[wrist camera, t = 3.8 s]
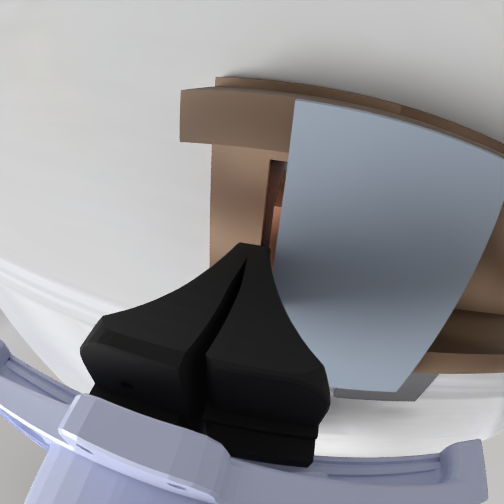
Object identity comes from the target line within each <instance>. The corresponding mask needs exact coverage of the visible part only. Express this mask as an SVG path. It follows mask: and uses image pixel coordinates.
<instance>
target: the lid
mask: <svg viewBox="0 0 504 504" xmlns="http://www.w3.org/2000/svg"><path fill="white" fill-rule="evenodd" d="M503 202H504V159H503V158H502V157H500V156H498V155H496V154H494V153H491V152H489V151H487V150H485V149H482V148H480V147H477V146H475V145H472V144H470V143H467V142H465V141H462V140H460V139H457V138H454V137H452V136H449V135H446V134H443V133H440V132H437V131H434V130H431V129H428V128H425V127H422V126H419V125H416V124H412V123H409V122H405V121H402V120H398V119H395V118H391V117H387V116H383V115H380V114H375V113H371V112H367V111H363V110H358V109H354V108H349V107H344V106H339V105H334V104H328V103H323V102H317V101H310V100H304V99H296V100H295V107H294V115H293V124H292V132H291V140H290V148H289V156H288V164H287V172H286V180H285V187H284V195H283V202H282V209H281V217H280V224H279V231H278V238H277V245H276V252H275V259H274V265H273V272H272V273H273V277H274V281H275V284H276V288H277V290H278V293H279V296H280V299H281V301H282V304H283V306H284V308H285V310H286V312H287V314H288V316H289V318H290V320H291V322H292V323H293V325H294V327H295V328H296V330H297V331H298V333H299V335H300V336H301V338H302V339H303V341H304V342H305V343H306V345H307V346H308V347H309V349H310V350H311V351H312V352H313V354H314V355H315V356H316V357H317V358H318V359H319V361H320V362H321V363H322V364H323V365H324V367H325V370H326V374H327V378H328V383H329V387H333V388H342V389H353V390H366V391H382V392H397V390H398V389H399V388H400V387H401V385H402V384H403V383H404V382H405V380H406V379H407V378H408V376H409V375H410V374H411V372H412V371H413V370H414V368H415V367H416V366H417V364H418V363H419V362H420V360H421V359H422V357H423V356H424V355H425V353H426V352H427V350H428V349H429V347H430V346H431V344H432V343H433V341H434V340H435V338H436V337H437V335H438V334H439V332H440V331H441V329H442V328H443V326H444V324H445V323H446V321H447V319H448V318H449V316H450V314H451V313H452V311H453V309H454V308H455V306H456V304H457V303H458V301H459V299H460V297H461V295H462V294H463V292H464V290H465V288H466V286H467V284H468V282H469V280H470V279H471V277H472V275H473V273H474V271H475V269H476V267H477V264H478V262H479V260H480V258H481V256H482V254H483V252H484V249H485V247H486V245H487V243H488V240H489V238H490V236H491V233H492V231H493V228H494V226H495V223H496V221H497V218H498V216H499V213H500V210H501V208H502V205H503Z"/></svg>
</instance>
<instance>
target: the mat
mask: <svg viewBox="0 0 504 504" xmlns="http://www.w3.org/2000/svg"><path fill="white" fill-rule="evenodd" d="M438 374H439V373H411V374H410V375H409V376H408V378H407V379H406V380H405V382H404V383H403V384H402V385H401V387H400V388H399V389H398V390H397V392H382V391H366V390H353V389H342V388H336V389H335V390H334V397H338V398H349V399H363V400H381V401H416V399H417V398H418V397H419V396H420V395H421V394H422V393H423V392H424V391H425V389H426V388H427V387H428V386H429V385H430V384H431V383H432V381H433V380H434V379H435V378H436V377H437V375H438Z"/></svg>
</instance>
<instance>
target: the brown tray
mask: <svg viewBox="0 0 504 504" xmlns="http://www.w3.org/2000/svg"><path fill="white" fill-rule="evenodd" d="M296 99H304V100H310V101H317V102H323V103H328V104H334V105H339V106H344V107H349V108H354V109H358V110H363V111H367V112H371V113H375V114H380V115H383V116H387V117H391V118H395V119H398V120H402V121H405V122H409V123H412V124H416V125H419V126H422V127H425V128H428V129H431V130H434V131H437V132H440V133H443V134H446V135H449V136H452V137H454V138H457V139H460V140H462V141H465V142H467V143H470V144H472V145H475V146H477V147H480V148H482V149H485V150H487V151H489V152H491V153H494V154H496V155H498V156H500V157H502V158H503V159H504V144H502V143H500V142H498V141H495V140H493V139H491V138H489V137H487V136H485V135H482V134H480V133H478V132H475V131H473V130H471V129H468V128H466V127H463V126H461V125H458V124H456V123H453V122H450V121H448V120H445V119H442V118H439V117H437V116H434V115H431V114H428V113H425V112H422V111H419V110H415V109H412V108H409V107H406V106H402V105H399V104H395V103H391V102H388V101H384V100H380V99H376V98H372V97H368V96H364V95H359V94H355V93H350V92H345V91H340V90H335V89H329V88H324V87H318V86H311V85H305V84H298V83H290V82H282V81H272V80H262V79H249V78H231V77H216V80H215V87H205V88H196V89H187V90H181V101H180V142H191V143H205V144H212V161H211V196H210V267H211V266H213V265H214V264H215V263H216V262H217V261H219V260H220V259H221V258H222V257H223V256H224V255H226V254H227V253H228V252H229V251H230V250H231V249H232V248H233V247H234V246H235V245H236V244H238V243H239V242H242V243H248V244H254V245H260V246H262V241H263V232H264V224H265V215H266V206H267V197H268V188H269V179H270V170H271V160H278V161H285V162H288V156H289V148H290V140H291V132H292V124H293V115H294V107H295V100H296ZM503 372H504V202H503V205H502V208H501V210H500V213H499V216H498V218H497V221H496V223H495V226H494V228H493V231H492V233H491V236H490V238H489V240H488V243H487V245H486V247H485V249H484V252H483V254H482V256H481V258H480V260H479V262H478V264H477V267H476V269H475V271H474V273H473V275H472V277H471V279H470V280H469V282H468V284H467V286H466V288H465V290H464V292H463V294H462V295H461V297H460V299H459V301H458V303H457V304H456V306H455V308H454V309H453V311H452V313H451V314H450V316H449V318H448V319H447V321H446V323H445V324H444V326H443V328H442V329H441V331H440V332H439V334H438V335H437V337H436V338H435V340H434V341H433V343H432V344H431V346H430V347H429V349H428V350H427V352H426V353H425V355H424V356H423V357H422V359H421V360H420V362H419V363H418V364H417V366H416V367H415V368H414V370H413V371H412V372H411V373H441V374H475V373H503Z"/></svg>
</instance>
